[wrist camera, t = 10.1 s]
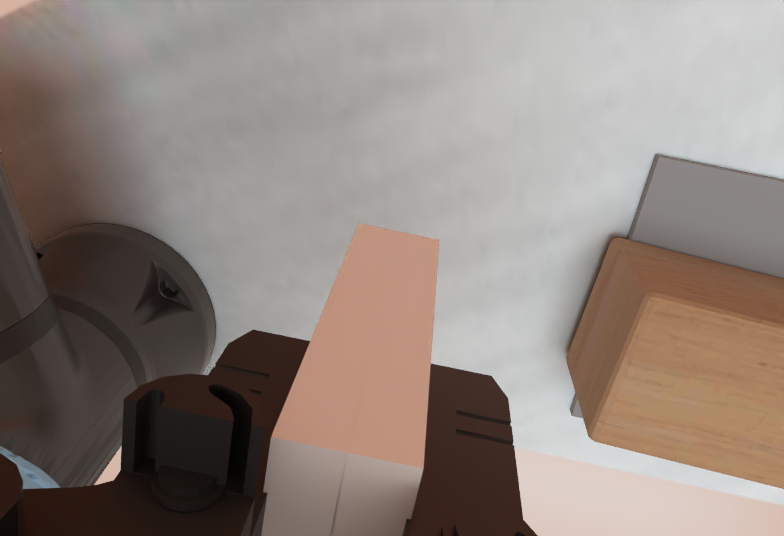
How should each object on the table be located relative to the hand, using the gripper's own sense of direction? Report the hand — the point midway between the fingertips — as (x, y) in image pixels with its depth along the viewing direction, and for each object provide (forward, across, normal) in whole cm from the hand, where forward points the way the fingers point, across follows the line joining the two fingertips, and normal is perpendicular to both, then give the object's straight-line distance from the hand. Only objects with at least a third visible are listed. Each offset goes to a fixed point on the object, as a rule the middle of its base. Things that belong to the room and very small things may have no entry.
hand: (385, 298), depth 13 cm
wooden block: (+29, +13, -13) cm, 34 cm away
